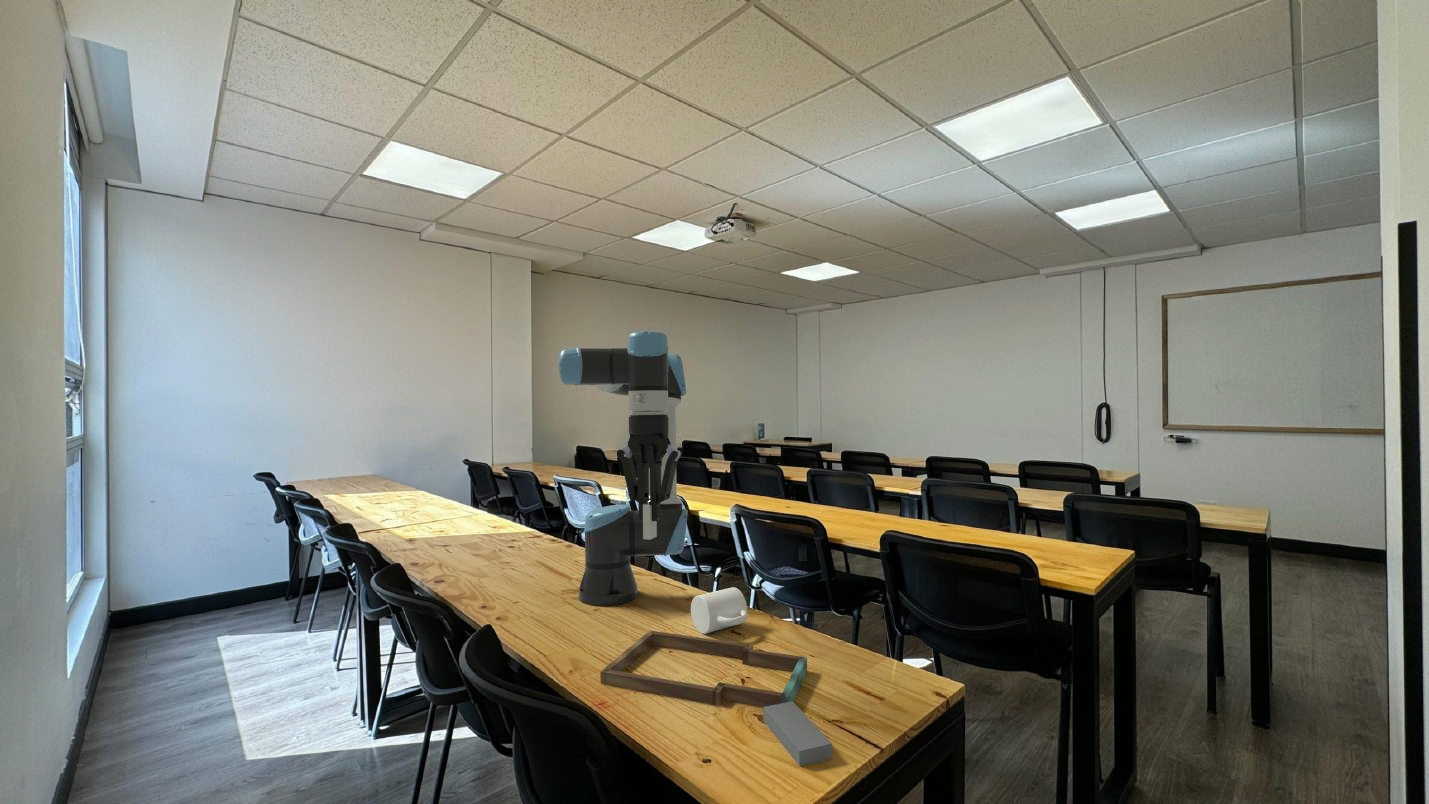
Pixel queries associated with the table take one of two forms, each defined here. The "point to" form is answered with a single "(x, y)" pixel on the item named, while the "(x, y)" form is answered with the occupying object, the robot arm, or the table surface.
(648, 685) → the keyhole corral
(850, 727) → the table surface
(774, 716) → the block
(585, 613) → the table surface
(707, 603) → the mug
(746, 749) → the table surface
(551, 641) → the table surface
